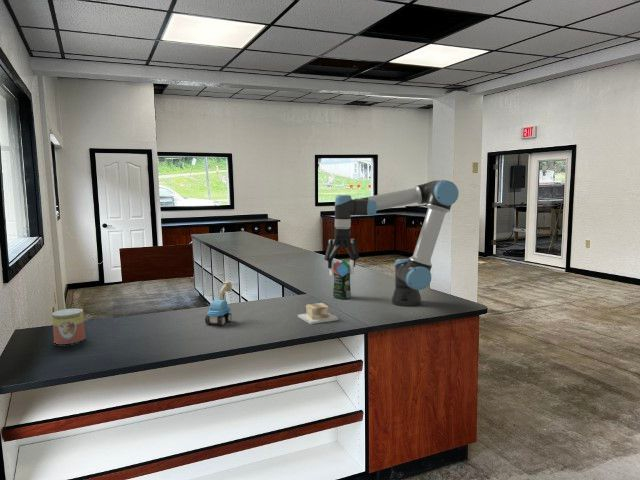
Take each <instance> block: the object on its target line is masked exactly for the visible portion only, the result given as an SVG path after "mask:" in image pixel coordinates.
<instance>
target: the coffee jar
mask: <svg viewBox="0 0 640 480" xmlns="http://www.w3.org/2000/svg"><path fill="white" fill-rule="evenodd" d="M349 270H350V269H349ZM349 270H348V273H347V274H346V275H344V276H343V277H342V276H341V275H340V274H338V275H337V274H336V273H335V272H334V271H333V290H332V291H333V292H332V293H333V294H332V295H333V298H335V299H340V300H348V299H350V298H351V297H352V289H351V274H350V273H349Z"/></svg>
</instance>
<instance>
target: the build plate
mask: <svg viewBox="0 0 640 480" xmlns="http://www.w3.org/2000/svg"><path fill="white" fill-rule="evenodd" d="M297 318H299V319H301V320H303V321H304V322H306V323H308V324H309V325H315V324H320V323H326V322H327V323H328V322H333V321H339V317H338V316H336V315H333V314H331V313H330V312H329V317H328V318H320V319H311V318H310V317H308V316H307V315H306V313H301V314H297Z"/></svg>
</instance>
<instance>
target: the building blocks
mask: <svg viewBox="0 0 640 480" xmlns="http://www.w3.org/2000/svg"><path fill="white" fill-rule="evenodd" d="M349 269H350V263H348V262H347V261H346V260H345V259H343V260H342V261H341V262H340V261H339V260H337V261H336V262H334V269H333V271H334V272H335V273H336V274H337V275H338V274H340V275H341V276H342V277H343V276H344V275H346V274H347V273H348V270H349Z"/></svg>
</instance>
